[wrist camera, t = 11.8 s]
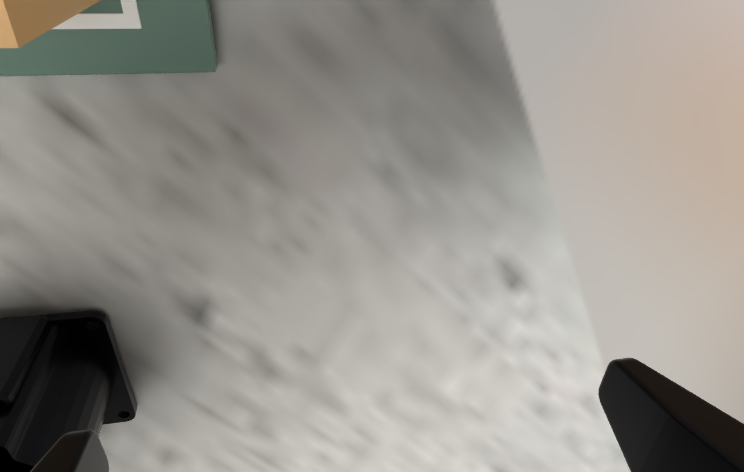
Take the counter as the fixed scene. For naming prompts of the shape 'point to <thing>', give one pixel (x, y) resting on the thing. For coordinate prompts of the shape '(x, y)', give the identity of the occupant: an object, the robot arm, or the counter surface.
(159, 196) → the counter surface
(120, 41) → the board
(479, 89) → the counter surface
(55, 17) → the block
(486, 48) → the counter surface
